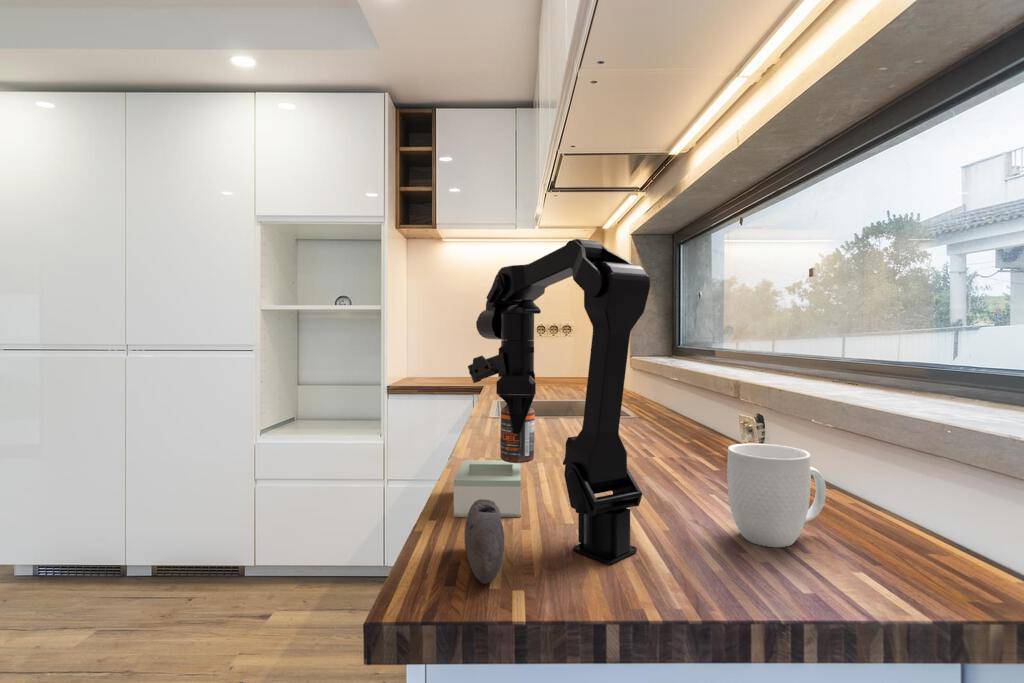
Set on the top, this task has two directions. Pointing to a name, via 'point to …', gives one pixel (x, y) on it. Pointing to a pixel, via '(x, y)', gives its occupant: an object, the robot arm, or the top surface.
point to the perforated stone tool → (484, 540)
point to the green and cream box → (488, 486)
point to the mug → (772, 492)
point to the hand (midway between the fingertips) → (517, 430)
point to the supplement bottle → (517, 438)
